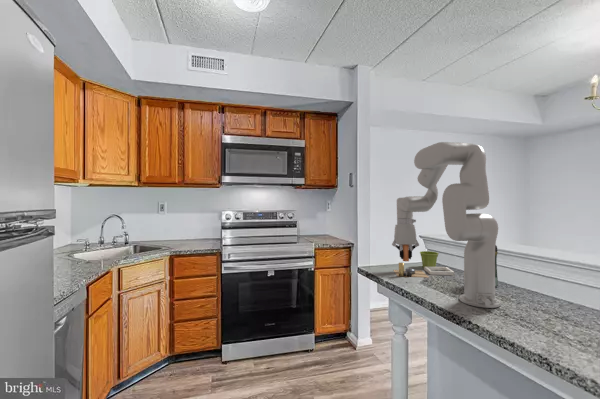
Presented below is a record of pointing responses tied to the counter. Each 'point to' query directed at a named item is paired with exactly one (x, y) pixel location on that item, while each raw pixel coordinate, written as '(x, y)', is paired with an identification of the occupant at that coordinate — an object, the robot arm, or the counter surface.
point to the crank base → (409, 274)
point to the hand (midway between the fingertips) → (405, 258)
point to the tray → (446, 272)
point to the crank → (404, 273)
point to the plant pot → (429, 258)
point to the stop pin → (405, 252)
